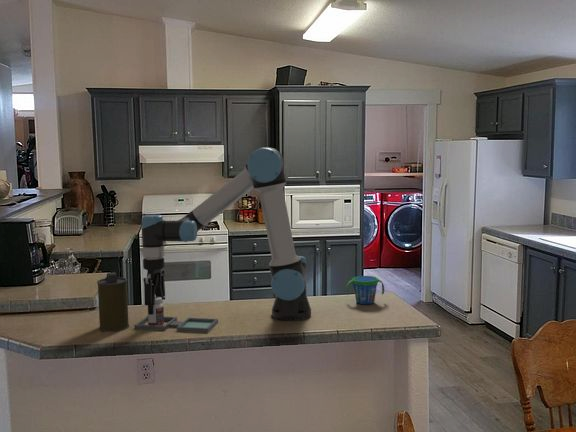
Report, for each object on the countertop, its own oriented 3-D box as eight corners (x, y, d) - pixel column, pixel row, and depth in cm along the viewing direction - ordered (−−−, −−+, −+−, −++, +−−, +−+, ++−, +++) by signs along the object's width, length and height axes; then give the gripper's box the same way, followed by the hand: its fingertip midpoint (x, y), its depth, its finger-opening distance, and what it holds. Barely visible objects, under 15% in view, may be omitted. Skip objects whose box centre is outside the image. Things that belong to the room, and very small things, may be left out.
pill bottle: (160, 327, 208) (159, 300, 207) (145, 326, 209) (144, 300, 208) (166, 322, 213) (165, 296, 212) (152, 321, 215) (151, 296, 213)
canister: (132, 328, 207) (130, 274, 204) (102, 333, 202) (99, 277, 199) (125, 321, 216) (122, 268, 214) (96, 325, 211) (93, 272, 209)
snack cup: (346, 305, 233) (346, 281, 232) (345, 299, 244) (345, 275, 243) (385, 306, 232) (385, 281, 231) (383, 299, 242) (383, 275, 241)
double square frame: (218, 322, 213) (218, 318, 213) (208, 332, 202) (208, 328, 201) (147, 319, 218) (147, 315, 218) (134, 328, 207) (134, 325, 206)
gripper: (154, 252, 218) (156, 312, 221) (132, 262, 200) (135, 327, 203) (173, 253, 217) (175, 313, 219) (152, 263, 198) (155, 328, 201)
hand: (156, 319), depth 211 cm, fingers closed on pill bottle, 6 cm apart
